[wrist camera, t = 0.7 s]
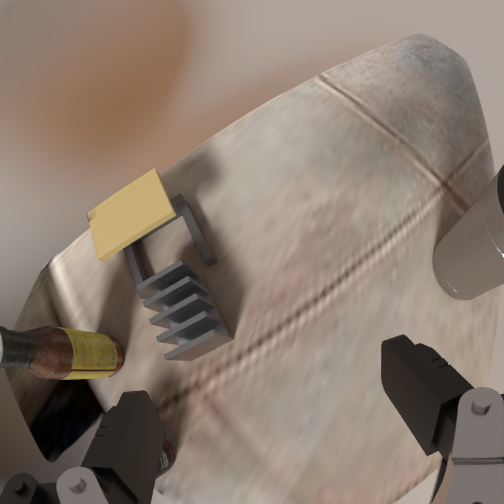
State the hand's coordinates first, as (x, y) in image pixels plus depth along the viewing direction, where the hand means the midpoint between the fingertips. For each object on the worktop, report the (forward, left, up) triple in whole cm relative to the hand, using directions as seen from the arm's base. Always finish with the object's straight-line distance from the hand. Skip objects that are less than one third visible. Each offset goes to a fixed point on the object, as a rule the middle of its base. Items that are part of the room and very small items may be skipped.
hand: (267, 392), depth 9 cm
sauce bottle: (+23, -12, -27) cm, 37 cm away
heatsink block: (+8, -11, -27) cm, 30 cm away
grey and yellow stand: (+8, -21, -26) cm, 35 cm away
